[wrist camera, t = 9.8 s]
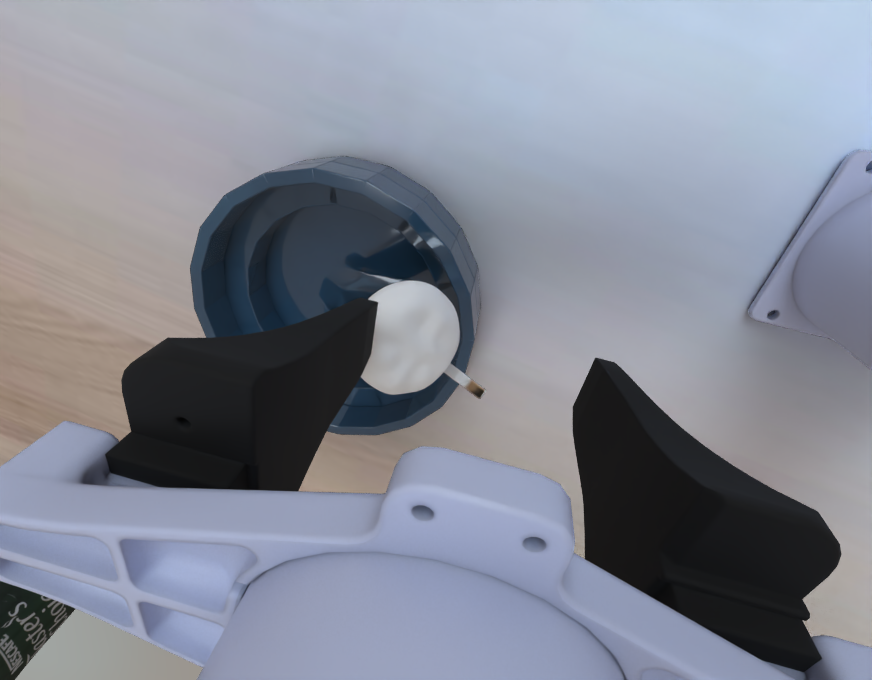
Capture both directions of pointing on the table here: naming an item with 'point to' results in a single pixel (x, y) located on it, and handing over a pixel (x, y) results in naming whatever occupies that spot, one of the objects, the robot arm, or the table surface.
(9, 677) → the coffee jar
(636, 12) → the table surface
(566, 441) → the table surface
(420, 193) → the bowl
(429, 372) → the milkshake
